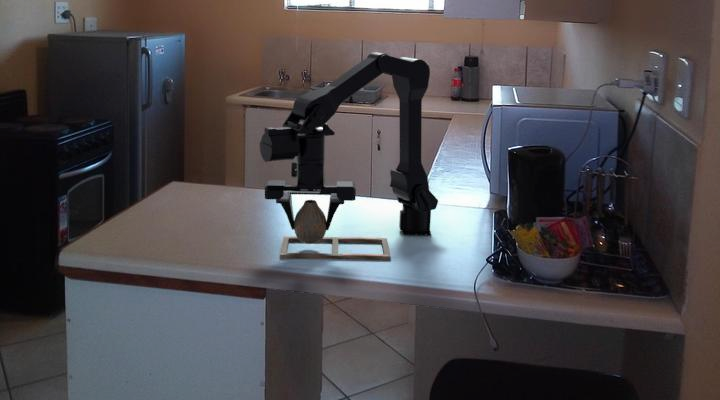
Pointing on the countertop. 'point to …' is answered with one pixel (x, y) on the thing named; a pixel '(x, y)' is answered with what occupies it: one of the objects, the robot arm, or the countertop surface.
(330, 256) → the rail frame
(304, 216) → the vase
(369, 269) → the countertop surface
